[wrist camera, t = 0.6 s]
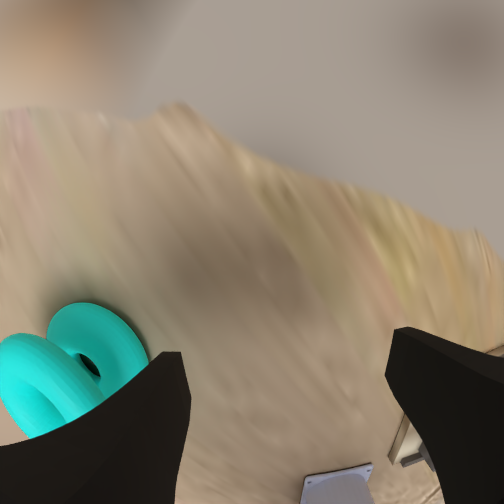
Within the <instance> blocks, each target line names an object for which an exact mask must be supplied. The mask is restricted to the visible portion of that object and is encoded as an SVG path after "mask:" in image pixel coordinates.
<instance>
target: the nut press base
mask: <svg viewBox="0 0 504 504" xmlns="http://www.w3.org/2000/svg"><path fill="white" fill-rule="evenodd" d="M486 354H489V355H493V356H498V357H502V358H504V346H501V347H499V348H497V349H495V350H492V351H490V352H488V353H486ZM388 458H389V460H390V461H391V463H392V465H395V464H398V463H401V464H402V466H403V468H404V467H406V466H409V465H412V464H414V463H417V462H419V461H422V460H424V459H425V461H426V462H427V464H428V465H429V467H430V468H431V470H432V471H433V472H434V471H435V468H434V465H433V463H432V460H431V458H430V456H429V453H428V451H427V449H426V447H425V445H424V443H423V441H422V439H421V438H420V436H419V434H418V433H417V431H416V430H415V428H414V427H413V425H412V424H411V422H410V420H409V419H408V417H407V416H406V414H405V415H404V418H403V421H402V423H401V426H400V429H399V432H398V434H397V437H396V440H395V442H394V445H393V447H392V449H391V452H390V454H389V457H388Z"/></svg>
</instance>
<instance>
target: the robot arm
mask: <svg viewBox="0 0 504 504" xmlns="http://www.w3.org/2000/svg"><path fill="white" fill-rule="evenodd" d="M385 377H386V380H387V382H388V384H389V387H390V389H391V391H392V393H393V395H394V397H395V399H396V400H397V402H398V403H399V405H400V407H401V408H402V410H403V411H404V413H405V414H406V416H407V417H408V419H409V420H410V422H411V424H412V425H413V427H414V428H415V430H416V431H417V433H418V434H419V436H420V438H421V439H422V441H423V443H424V445H425V447H426V449H427V451H428V453H429V456H430V458H431V460H432V463H433V465H434V468H435V471H436V473H437V476H438V479H439V482H440V486H441V489H442V493H443V497H444V501H445V504H504V358H502V357H498V356H493V355H489V354H486V353H482V352H479V351H476V350H473V349H470V348H467V347H464V346H461V345H459V344H456V343H453V342H451V341H448V340H445V339H443V338H440V337H438V336H435V335H432V334H430V333H427V332H424V331H422V330H419V329H415V328H412V327H404V328H399V329H394V334H393V339H392V344H391V349H390V354H389V358H388V363H387V367H386V371H385ZM190 410H191V394H190V390H189V386H188V382H187V378H186V373H185V369H184V365H183V360H182V356H181V352H162V353H160V354H159V355H158V356H157V357H156V358H155V359H154V360H152V361H151V362H150V363H149V364H148V365H147V366H146V367H145V368H144V369H142V370H141V371H140V372H139V373H138V374H137V375H136V376H135V377H133V378H132V379H131V380H130V381H129V382H128V383H126V384H125V385H124V386H123V387H122V388H120V389H119V390H118V391H116V392H115V393H114V394H113V395H111V396H110V397H109V398H107V399H106V400H105V401H103V402H102V403H101V404H99V405H98V406H96V407H95V408H93V409H92V410H90V411H89V412H87V413H85V414H84V415H82V416H80V417H79V418H77V419H75V420H73V421H71V422H69V423H67V424H65V425H63V426H61V427H59V428H57V429H54V430H52V431H50V432H48V433H45V434H43V435H40V436H37V437H34V438H31V439H28V440H25V441H21V442H18V443H14V444H10V445H4V446H0V504H174V502H175V489H176V481H177V475H178V471H179V466H180V462H181V457H182V453H183V449H184V444H185V440H186V435H187V431H188V426H189V420H190ZM373 467H374V466H373V464H368V465H364V466H360V467H355V468H351V469H347V470H342V471H337V472H331V473H326V474H319V475H313V476H308V477H306V478H305V481H304V486H303V491H302V497H301V501H300V504H375V503H374V500H373V498H372V496H371V493H370V491H369V488H368V486H367V484H366V483H367V481H368V478H369V476H370V474H371V472H372V469H373Z"/></svg>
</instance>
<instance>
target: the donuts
mask: <svg viewBox="0 0 504 504" xmlns="http://www.w3.org/2000/svg"><path fill="white" fill-rule="evenodd" d="M79 353H80V354H83V355H85V356H87V357H88V358H90V359H91V360H92V361H93V362H94V364H95V365H96V366H97V368H98V370H99V372H100V376H101V377H99V376H97V375H95V374H93V373H92V372H91V371H90V370H89V369H88V368H87V367H86V366H85V365H84V363H83V362H82V360H81V358H80V355H79ZM148 364H149V362H148V359H147V356H146V353H145V350H144V348H143V346H142V344H141V342H140V341H139V339H138V337H137V336H136V334H135V333H134V332H133V331H132V329H131V328H130V327H129V326H128V325H127V324H126V323H125V322H124V321H123V320H122V319H121V318H120V317H118V316H117V315H116V314H114V313H113V312H111V311H109V310H107V309H105V308H103V307H101V306H99V305H96V304H92V303H85V302H81V303H73V304H69V305H67V306H65V307H63V308H62V309H60V310H59V311H58V312H57V313H56V314H55V315H54V316H53V318H52V320H51V322H50V324H49V326H48V330H47V335H46V339H44V338H42V337H39V336H36V335H33V334H26V333H18V334H13V335H10V336H9V337H7V338H5V339H4V340H3V341H2V342H1V343H0V397H1V399H2V401H3V403H4V405H5V407H6V409H7V410H8V412H9V414H10V415H11V417H12V418H13V419H14V421H15V422H16V424H17V425H18V426H19V427H20V428H21V430H22V431H23V432H24V433H25V434H26V435H27V436H28V437H29V438H30V439H31V438H34V437H37V436H40V435H43V434H45V433H48V432H50V431H52V430H54V429H57V428H59V427H61V426H63V425H65V424H67V423H69V422H71V421H73V420H75V419H77V418H79V417H80V416H82V415H84V414H85V413H87V412H89V411H90V410H92V409H93V408H95V407H96V406H98V405H99V404H101V403H102V402H103V401H105V400H106V399H107V398H109V397H110V396H111V395H113V394H114V393H115V392H116V391H118V390H119V389H120V388H122V387H123V386H124V385H125V384H126V383H128V382H129V381H130V380H131V379H132V378H133V377H135V376H136V375H137V374H138V373H139V372H140V371H141V370H142V369H144V368H145V367H146V366H147V365H148Z"/></svg>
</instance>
